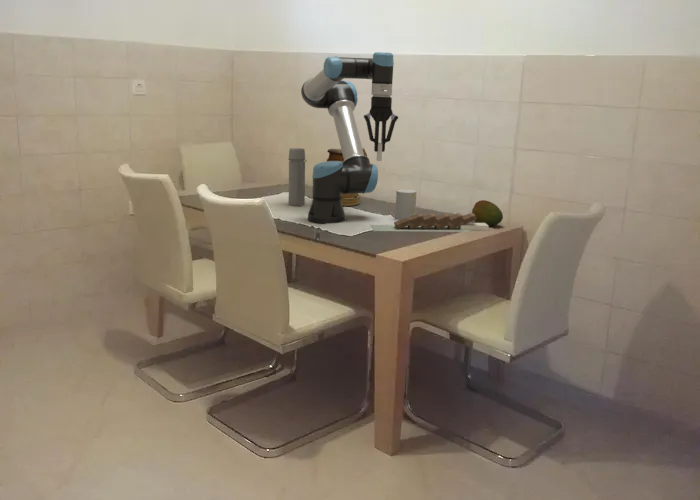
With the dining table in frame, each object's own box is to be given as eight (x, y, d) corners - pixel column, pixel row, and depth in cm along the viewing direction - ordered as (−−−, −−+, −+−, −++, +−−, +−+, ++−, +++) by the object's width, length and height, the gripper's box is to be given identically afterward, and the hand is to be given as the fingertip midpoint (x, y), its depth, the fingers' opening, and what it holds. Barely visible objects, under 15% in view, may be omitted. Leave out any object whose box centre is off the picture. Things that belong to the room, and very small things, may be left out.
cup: (413, 222, 276) (415, 193, 273) (393, 221, 277) (395, 191, 274) (415, 218, 284) (417, 190, 281) (396, 217, 285) (398, 188, 282)
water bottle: (284, 204, 306) (285, 148, 300) (300, 202, 310) (300, 147, 304) (294, 207, 299) (295, 150, 292) (310, 206, 303) (311, 149, 297)
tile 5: (448, 225, 262) (475, 215, 262) (445, 222, 267) (471, 212, 267) (450, 229, 262) (476, 219, 262) (447, 226, 267) (473, 216, 267)
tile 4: (435, 225, 261) (462, 215, 261) (432, 222, 266) (459, 212, 266) (437, 229, 262) (463, 219, 262) (434, 227, 267) (460, 216, 267)
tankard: (312, 201, 314) (313, 147, 308) (353, 197, 327) (355, 145, 321) (334, 208, 300) (335, 151, 294) (376, 204, 313) (378, 149, 307)
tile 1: (395, 225, 260) (422, 215, 260) (393, 222, 264) (420, 212, 265) (397, 229, 260) (424, 219, 260) (395, 226, 265) (421, 217, 265)
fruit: (474, 221, 282) (476, 197, 280) (504, 224, 278) (506, 200, 275) (467, 226, 272) (469, 201, 269) (499, 229, 267) (501, 204, 265)
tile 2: (408, 225, 260) (435, 215, 260) (406, 222, 265) (432, 213, 265) (410, 229, 261) (437, 220, 261) (407, 226, 265) (434, 217, 266)
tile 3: (422, 225, 261) (449, 215, 261) (419, 222, 266) (446, 212, 266) (423, 229, 261) (450, 219, 261) (421, 226, 266) (447, 217, 266)
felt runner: (373, 232, 257) (373, 230, 257) (369, 225, 267) (369, 224, 267) (471, 232, 261) (471, 231, 261) (464, 226, 271) (464, 225, 271)
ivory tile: (460, 225, 262) (488, 225, 263) (457, 222, 267) (484, 222, 268) (460, 229, 263) (488, 230, 264) (457, 227, 268) (484, 227, 269)
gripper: (365, 96, 245) (363, 161, 251) (400, 96, 246) (397, 162, 252) (362, 95, 252) (360, 159, 258) (397, 96, 254) (394, 159, 259)
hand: (379, 160), depth 255 cm, fingers closed
